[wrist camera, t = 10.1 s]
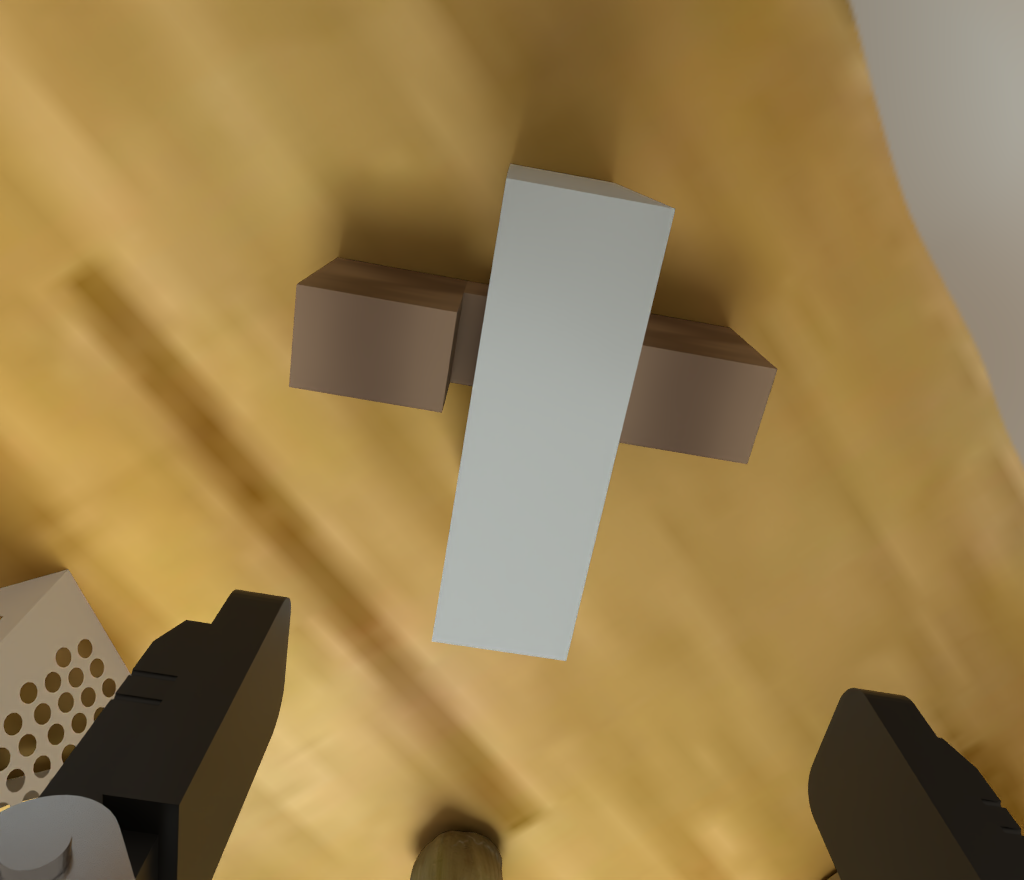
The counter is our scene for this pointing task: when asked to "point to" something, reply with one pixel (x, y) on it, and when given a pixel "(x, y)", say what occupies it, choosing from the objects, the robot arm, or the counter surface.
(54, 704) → the grater
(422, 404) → the walnut stand
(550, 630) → the plain gray rectangular block
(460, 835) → the fennel bulb
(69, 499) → the counter surface
